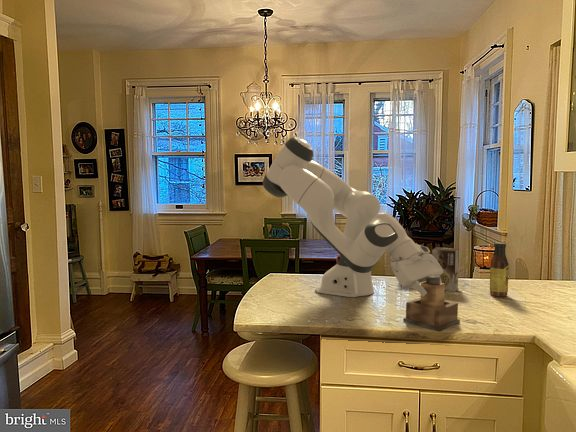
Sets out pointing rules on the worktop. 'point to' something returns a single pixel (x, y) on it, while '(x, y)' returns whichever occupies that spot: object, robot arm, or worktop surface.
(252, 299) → the worktop surface
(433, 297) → the cylinder
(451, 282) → the coffee box
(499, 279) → the sauce bottle
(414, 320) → the socket
